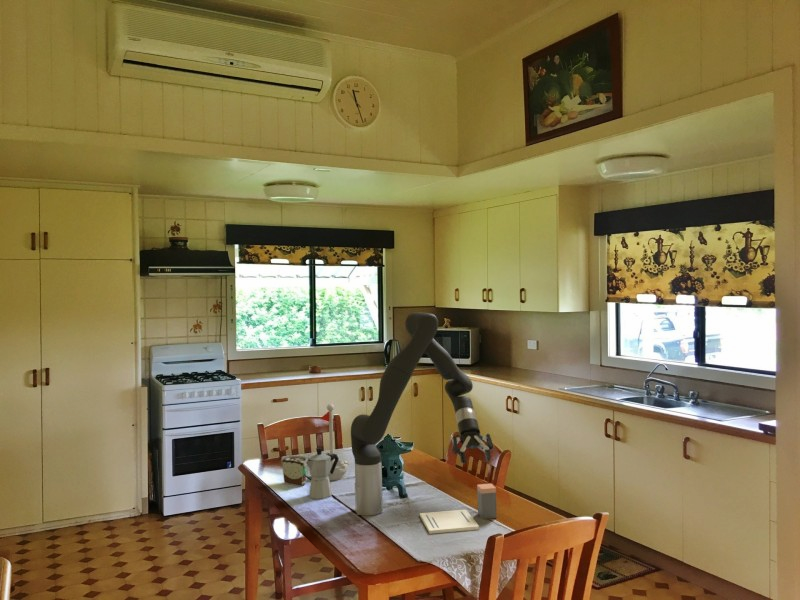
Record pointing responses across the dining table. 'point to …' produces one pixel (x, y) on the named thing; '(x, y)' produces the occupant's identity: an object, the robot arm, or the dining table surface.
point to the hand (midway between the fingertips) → (476, 462)
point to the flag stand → (340, 467)
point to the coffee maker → (321, 474)
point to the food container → (294, 470)
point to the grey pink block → (486, 501)
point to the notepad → (448, 521)
